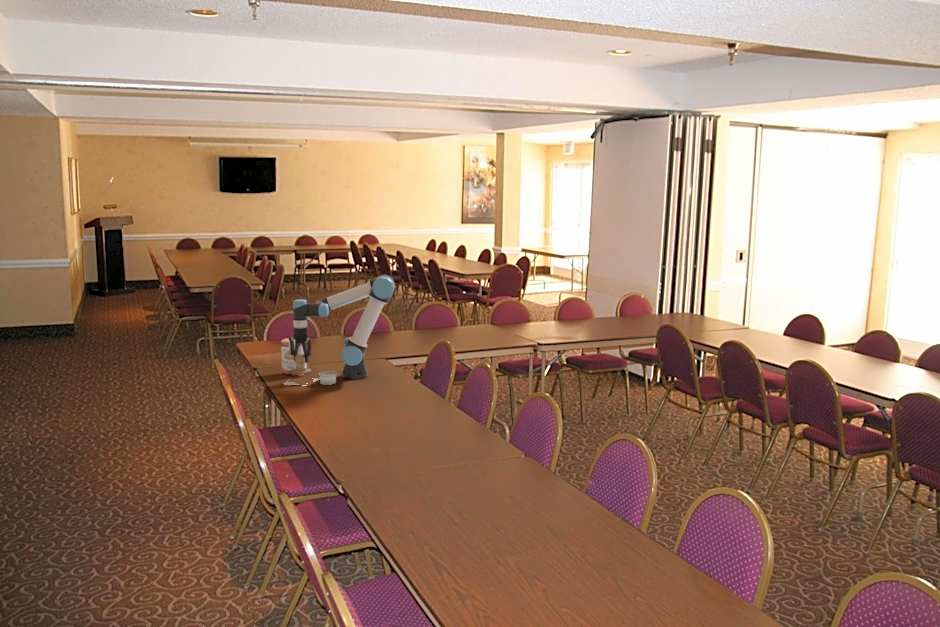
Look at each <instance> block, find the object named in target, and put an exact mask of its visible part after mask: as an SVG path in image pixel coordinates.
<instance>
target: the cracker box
mask: <svg viewBox="0 0 940 627" xmlns="http://www.w3.org/2000/svg"><path fill="white" fill-rule="evenodd" d="M295 343H296V341H295V340H294V350H295ZM280 344H281V345H280V347H281V349H280V350H281V351H280V352H281V353H280V354H281V355H280V356H281V374H282V373H286V374H292V373H291V370H293V369H296V362H294V356H293V355H291V351H290V341H289V338H283V339H281V340H280ZM298 354H304V352H303V347H302V344H299V349H298ZM286 374H285V375H286ZM294 375H296V374H294ZM294 375H293V376H294Z"/></svg>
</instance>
